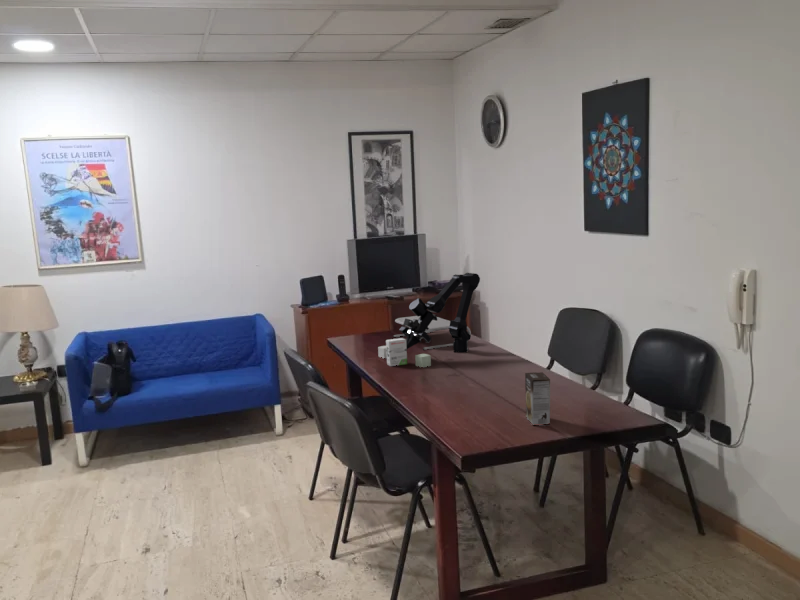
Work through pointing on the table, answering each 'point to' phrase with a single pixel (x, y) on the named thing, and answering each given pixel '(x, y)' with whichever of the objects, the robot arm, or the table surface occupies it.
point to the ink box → (396, 352)
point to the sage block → (423, 360)
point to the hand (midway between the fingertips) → (405, 348)
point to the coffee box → (537, 398)
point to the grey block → (382, 352)
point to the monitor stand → (430, 328)
